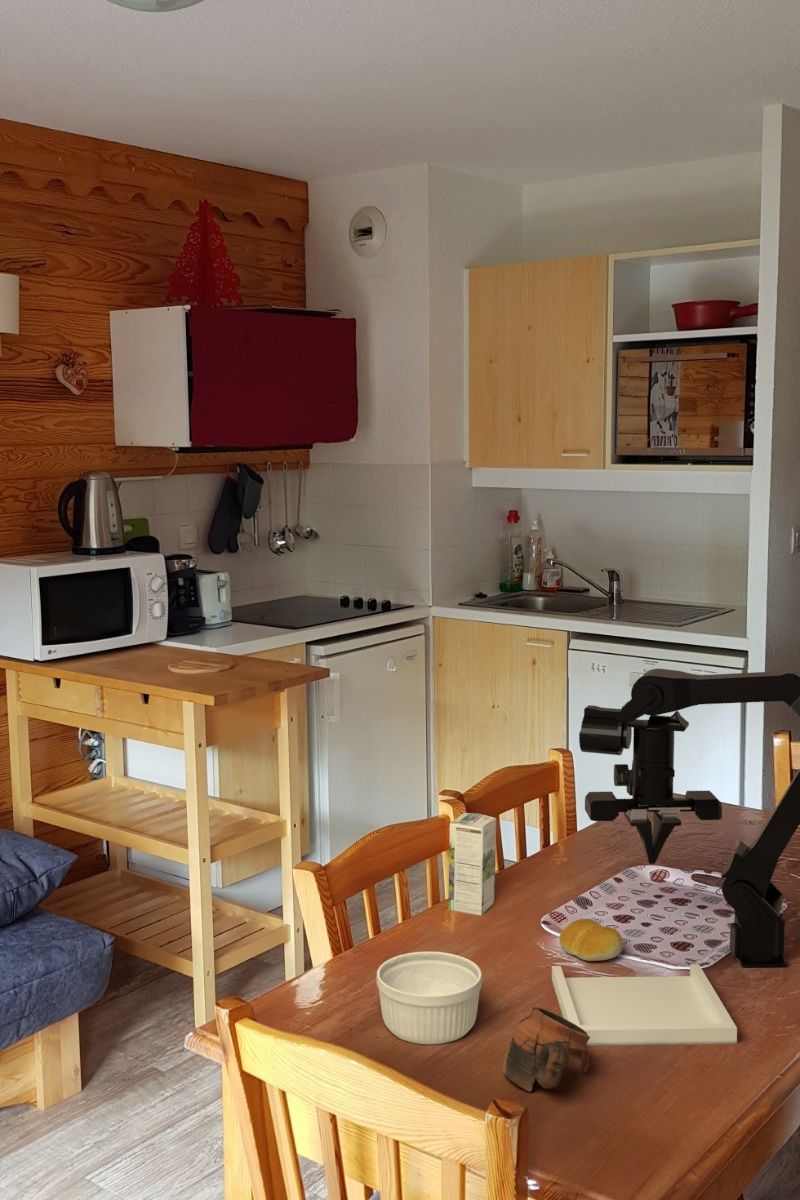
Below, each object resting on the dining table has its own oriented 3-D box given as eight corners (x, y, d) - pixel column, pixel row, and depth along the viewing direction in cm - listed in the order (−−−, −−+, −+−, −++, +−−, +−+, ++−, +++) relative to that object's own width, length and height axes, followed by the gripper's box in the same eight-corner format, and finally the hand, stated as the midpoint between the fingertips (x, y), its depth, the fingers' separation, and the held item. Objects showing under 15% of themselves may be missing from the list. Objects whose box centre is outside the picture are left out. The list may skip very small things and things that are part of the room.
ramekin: (457, 994, 159) (457, 944, 158) (499, 1039, 147) (499, 985, 146) (363, 1010, 155) (362, 959, 154) (398, 1059, 142) (397, 1003, 141)
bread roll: (597, 967, 165) (596, 940, 165) (550, 949, 172) (549, 923, 172) (636, 950, 170) (635, 923, 170) (589, 933, 177) (588, 907, 177)
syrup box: (461, 898, 192) (461, 811, 190) (496, 904, 190) (496, 815, 188) (448, 911, 187) (447, 821, 185) (483, 917, 185) (483, 826, 183)
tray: (698, 978, 163) (698, 964, 163) (736, 1043, 145) (737, 1028, 145) (551, 980, 163) (551, 966, 162) (571, 1045, 145) (572, 1030, 145)
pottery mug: (489, 1060, 142) (517, 995, 143) (559, 1092, 142) (587, 1026, 144) (511, 1092, 130) (542, 1020, 131) (588, 1127, 131) (618, 1055, 132)
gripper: (703, 743, 179) (701, 844, 181) (579, 744, 179) (578, 845, 181) (724, 763, 168) (721, 869, 170) (591, 764, 168) (590, 871, 170)
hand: (651, 863), depth 173 cm, fingers closed
